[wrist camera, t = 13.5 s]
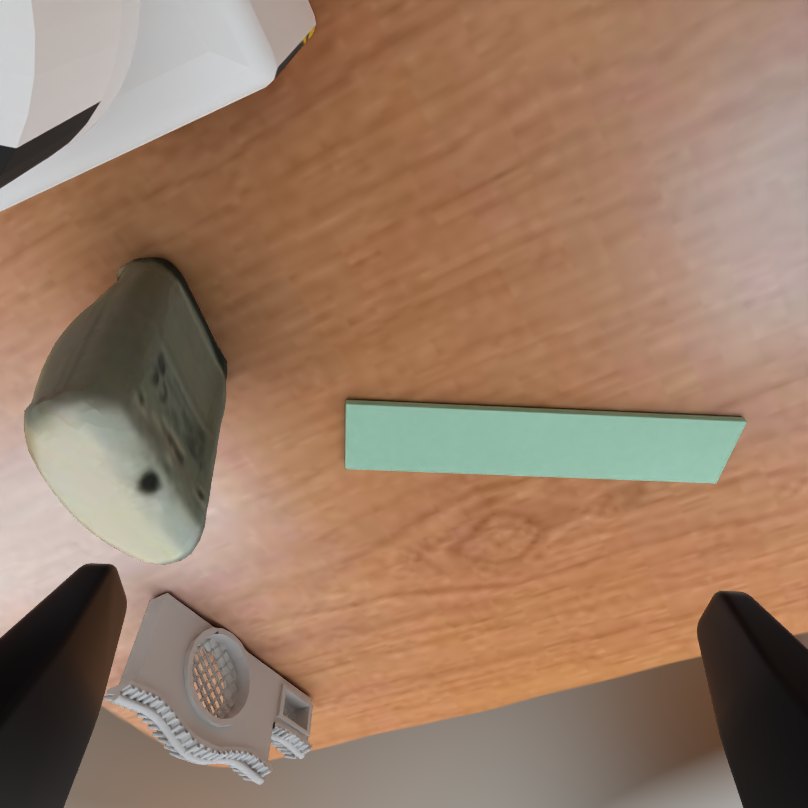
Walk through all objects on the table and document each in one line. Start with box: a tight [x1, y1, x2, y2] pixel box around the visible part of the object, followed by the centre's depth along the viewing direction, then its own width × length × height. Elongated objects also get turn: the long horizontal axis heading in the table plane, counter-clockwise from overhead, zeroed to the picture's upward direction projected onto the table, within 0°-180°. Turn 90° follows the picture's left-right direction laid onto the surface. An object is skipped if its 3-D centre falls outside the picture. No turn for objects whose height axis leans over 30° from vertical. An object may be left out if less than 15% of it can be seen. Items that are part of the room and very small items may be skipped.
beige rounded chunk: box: [24, 258, 227, 565], centre depth 18 cm, size 6×5×8 cm
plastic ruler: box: [345, 400, 747, 483], centre depth 24 cm, size 15×3×1 cm, turn 86°
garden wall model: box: [103, 593, 313, 784], centre depth 30 cm, size 12×2×6 cm, turn 31°
